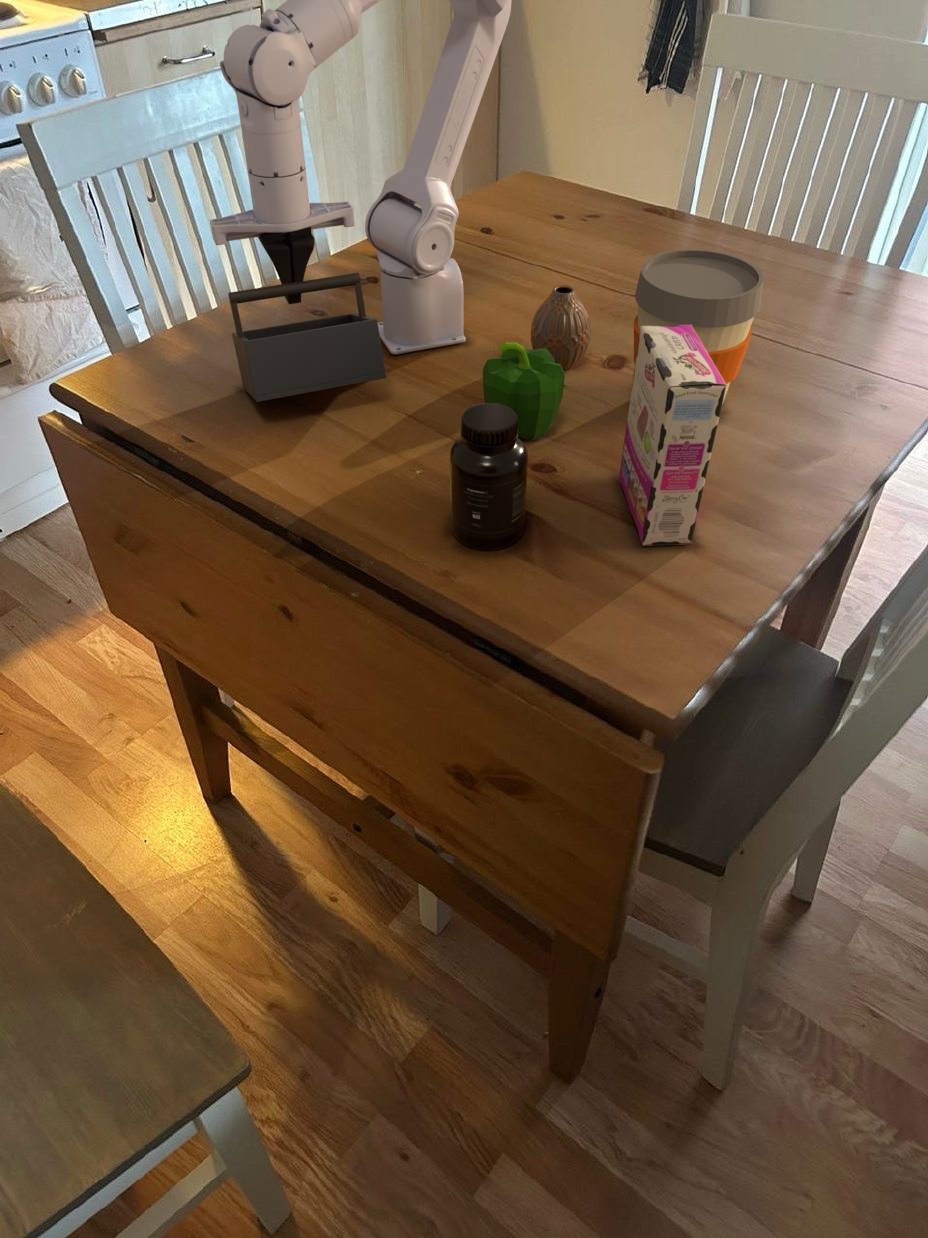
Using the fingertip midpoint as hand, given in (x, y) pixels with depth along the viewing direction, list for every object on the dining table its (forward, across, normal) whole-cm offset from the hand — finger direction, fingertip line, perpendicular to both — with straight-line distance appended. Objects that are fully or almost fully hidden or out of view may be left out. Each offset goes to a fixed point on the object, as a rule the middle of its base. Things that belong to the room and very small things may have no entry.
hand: (293, 299), depth 104 cm
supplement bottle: (+9, -9, +34) cm, 37 cm away
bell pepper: (+9, -19, +19) cm, 29 cm away
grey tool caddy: (+7, 0, +6) cm, 9 cm away
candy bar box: (+9, -25, +37) cm, 46 cm away
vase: (+9, -29, +7) cm, 31 cm away
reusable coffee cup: (+9, -37, +21) cm, 44 cm away
